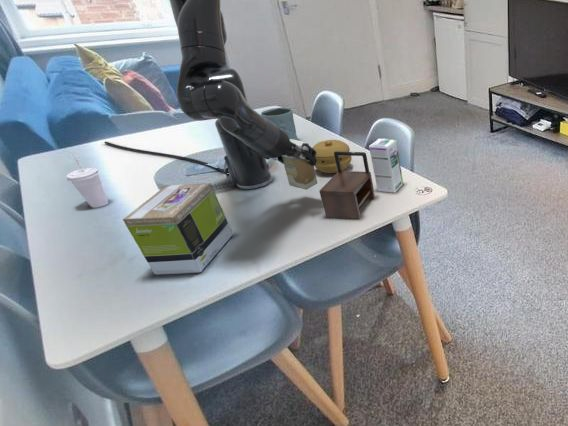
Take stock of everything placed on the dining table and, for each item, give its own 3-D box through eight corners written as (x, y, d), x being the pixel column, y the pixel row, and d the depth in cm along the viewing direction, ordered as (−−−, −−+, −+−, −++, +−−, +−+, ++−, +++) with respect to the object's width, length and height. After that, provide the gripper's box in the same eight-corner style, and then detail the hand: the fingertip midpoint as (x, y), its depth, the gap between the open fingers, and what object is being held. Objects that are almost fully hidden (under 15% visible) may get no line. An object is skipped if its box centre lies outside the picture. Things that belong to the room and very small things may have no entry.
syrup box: (395, 193, 124) (388, 146, 116) (376, 191, 125) (368, 144, 117) (403, 184, 128) (397, 139, 121) (385, 182, 129) (377, 137, 122)
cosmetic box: (289, 186, 116) (276, 143, 109) (301, 179, 119) (290, 138, 113) (307, 190, 114) (295, 147, 107) (319, 183, 117) (308, 141, 111)
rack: (326, 217, 112) (313, 169, 105) (344, 195, 122) (334, 150, 115) (359, 219, 111) (348, 170, 104) (375, 197, 122) (366, 151, 114)
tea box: (191, 237, 104) (166, 183, 96) (234, 235, 105) (213, 181, 97) (152, 276, 91) (120, 217, 83) (201, 273, 92) (173, 215, 84)
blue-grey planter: (270, 150, 151) (260, 117, 145) (269, 140, 159) (260, 109, 153) (301, 145, 155) (292, 113, 149) (299, 136, 163) (291, 105, 157)
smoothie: (120, 200, 119) (95, 154, 112) (94, 211, 114) (66, 164, 107) (104, 197, 121) (79, 151, 114) (78, 208, 116) (50, 160, 109)
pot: (328, 181, 130) (321, 150, 125) (307, 171, 136) (299, 141, 131) (361, 168, 138) (355, 139, 133) (340, 159, 144) (333, 131, 139)
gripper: (296, 122, 99) (329, 150, 115) (237, 120, 100) (277, 148, 116) (290, 152, 97) (324, 176, 113) (230, 150, 98) (272, 174, 114)
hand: (300, 162), depth 114 cm, fingers closed on cosmetic box, 7 cm apart
